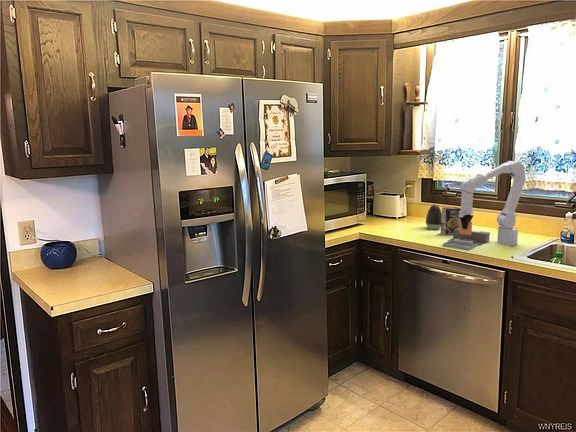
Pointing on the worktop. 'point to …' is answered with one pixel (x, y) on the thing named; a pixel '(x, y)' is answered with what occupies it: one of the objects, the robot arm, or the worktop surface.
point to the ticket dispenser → (472, 237)
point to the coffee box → (450, 220)
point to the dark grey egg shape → (434, 217)
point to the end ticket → (466, 231)
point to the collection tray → (459, 245)
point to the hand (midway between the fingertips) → (465, 228)
